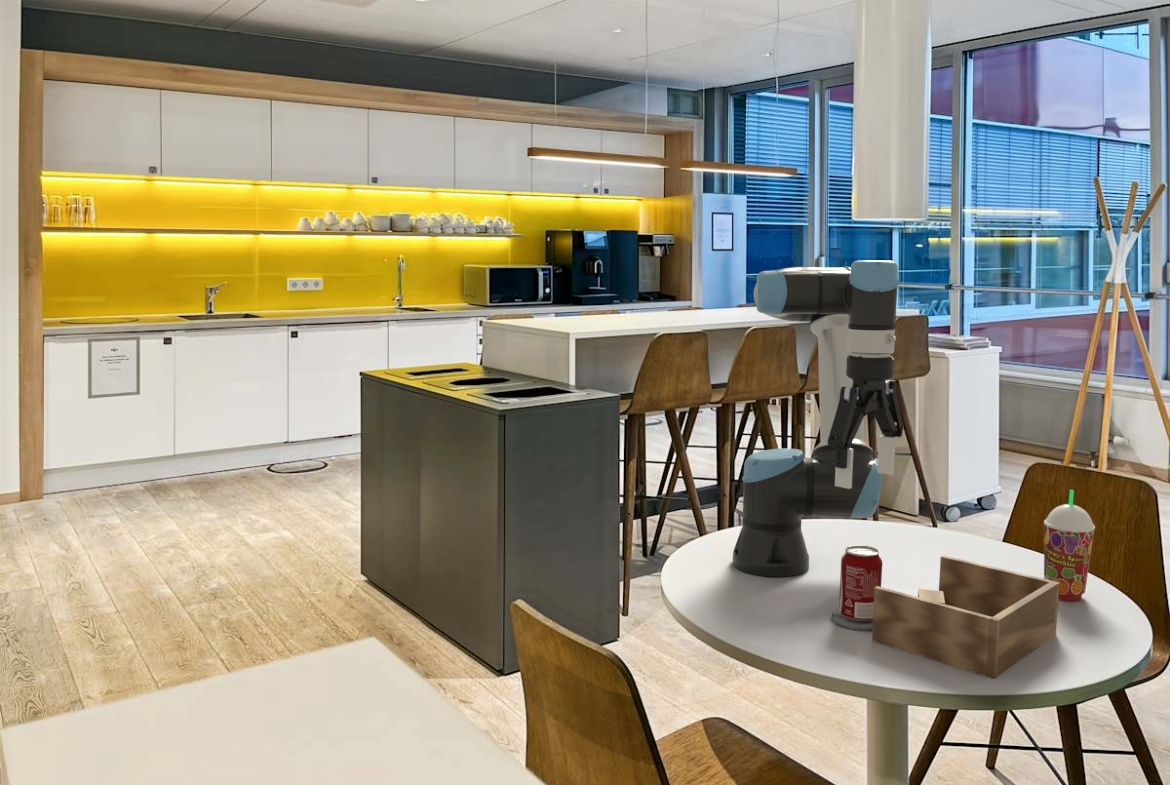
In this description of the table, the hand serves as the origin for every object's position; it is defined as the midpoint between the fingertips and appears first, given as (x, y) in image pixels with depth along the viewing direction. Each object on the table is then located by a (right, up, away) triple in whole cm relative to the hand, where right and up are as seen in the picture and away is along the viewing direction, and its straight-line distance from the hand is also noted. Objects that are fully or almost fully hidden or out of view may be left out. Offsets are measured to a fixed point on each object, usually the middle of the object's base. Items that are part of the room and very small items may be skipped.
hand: (864, 480), depth 165 cm
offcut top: (+11, -22, 0) cm, 25 cm away
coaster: (0, -24, +4) cm, 25 cm away
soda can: (0, -24, +4) cm, 24 cm away
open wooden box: (+15, -26, -4) cm, 30 cm away
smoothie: (+41, -23, +16) cm, 50 cm away
